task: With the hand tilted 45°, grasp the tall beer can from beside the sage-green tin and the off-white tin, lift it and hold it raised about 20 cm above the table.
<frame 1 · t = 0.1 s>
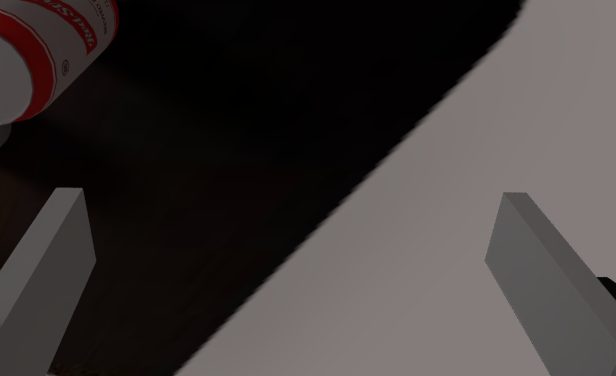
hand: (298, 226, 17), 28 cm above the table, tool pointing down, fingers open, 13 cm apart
beer can: (80, 8, 40), on the table
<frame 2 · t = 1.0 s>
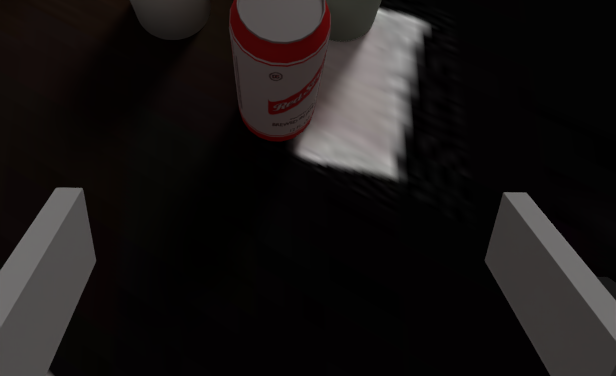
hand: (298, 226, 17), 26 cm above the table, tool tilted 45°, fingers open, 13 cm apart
off-white tin: (173, 6, 48), on the table
sage tin: (339, 9, 49), on the table
beer can: (276, 111, 46), on the table
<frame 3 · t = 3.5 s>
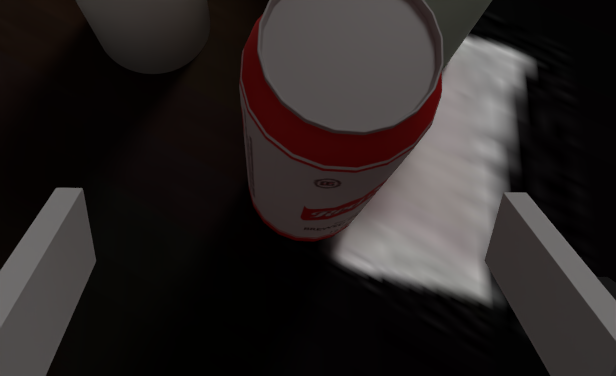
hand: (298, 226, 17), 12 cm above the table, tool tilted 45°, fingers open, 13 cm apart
off-white tin: (154, 23, 32), on the table
sage tin: (402, 33, 33), on the table
beer can: (305, 190, 30), on the table
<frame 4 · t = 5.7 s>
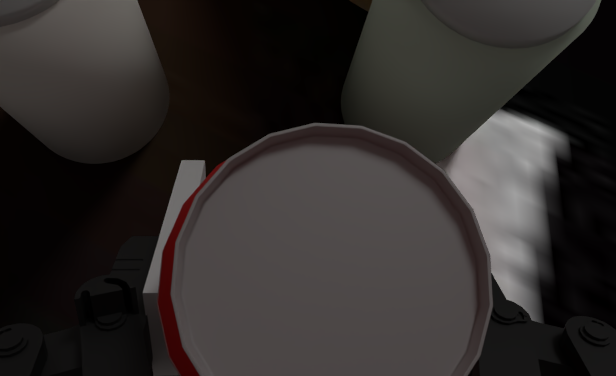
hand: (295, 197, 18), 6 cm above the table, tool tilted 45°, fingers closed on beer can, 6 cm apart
off-white tin: (99, 98, 26), on the table
sage tin: (405, 105, 27), on the table
beer can: (286, 309, 24), on the table, touching gripper
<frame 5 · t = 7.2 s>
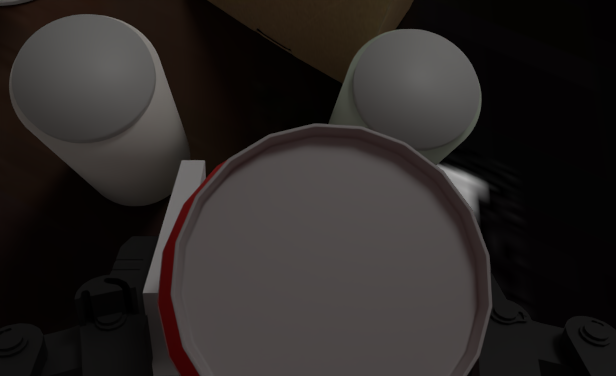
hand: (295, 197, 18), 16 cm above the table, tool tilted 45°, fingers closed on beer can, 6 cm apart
off-white tin: (138, 156, 34), on the table
sage tin: (366, 161, 36), on the table
beer can: (286, 309, 24), point 9 cm above the table, touching gripper
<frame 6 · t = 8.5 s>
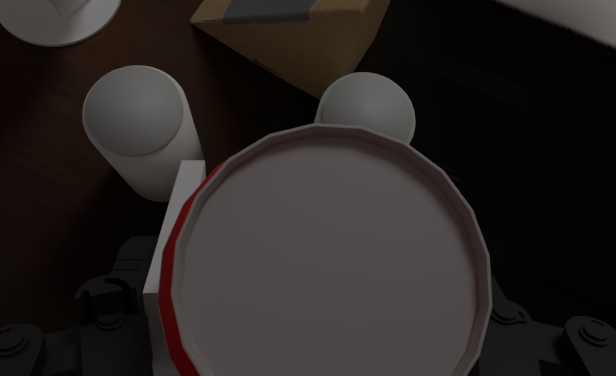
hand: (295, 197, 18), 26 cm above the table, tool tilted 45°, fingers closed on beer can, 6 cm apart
off-white tin: (164, 163, 45), on the table
sage tin: (341, 166, 46), on the table
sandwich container: (282, 31, 49), on the table
beer can: (286, 309, 24), point 19 cm above the table, touching gripper
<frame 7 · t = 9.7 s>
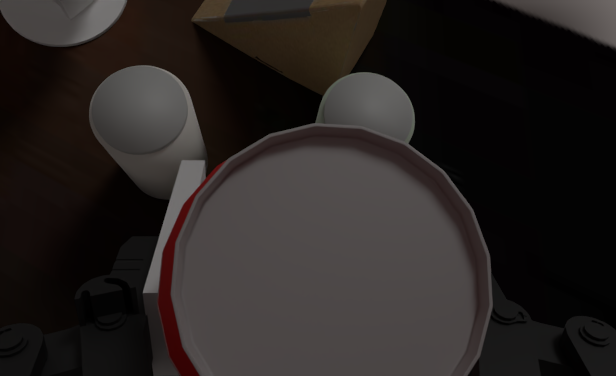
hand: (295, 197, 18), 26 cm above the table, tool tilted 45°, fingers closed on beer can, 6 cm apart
off-white tin: (168, 162, 45), on the table
sage tin: (342, 164, 47), on the table
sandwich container: (282, 28, 50), on the table
beer can: (286, 309, 24), point 20 cm above the table, touching gripper
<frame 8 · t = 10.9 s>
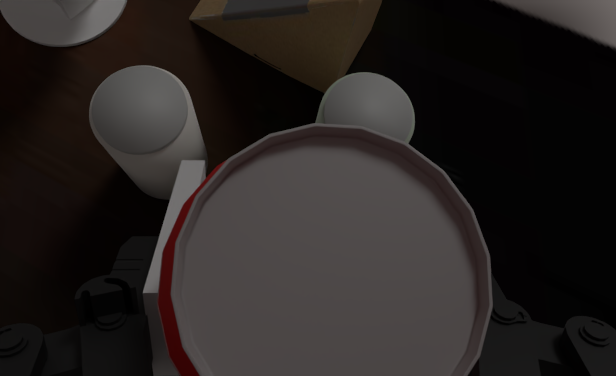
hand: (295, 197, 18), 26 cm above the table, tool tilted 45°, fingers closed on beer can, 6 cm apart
off-white tin: (168, 162, 45), on the table
sage tin: (342, 164, 47), on the table
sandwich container: (280, 25, 50), on the table
beer can: (286, 309, 24), point 20 cm above the table, touching gripper
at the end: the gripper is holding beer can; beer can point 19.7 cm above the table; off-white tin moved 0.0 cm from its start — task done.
